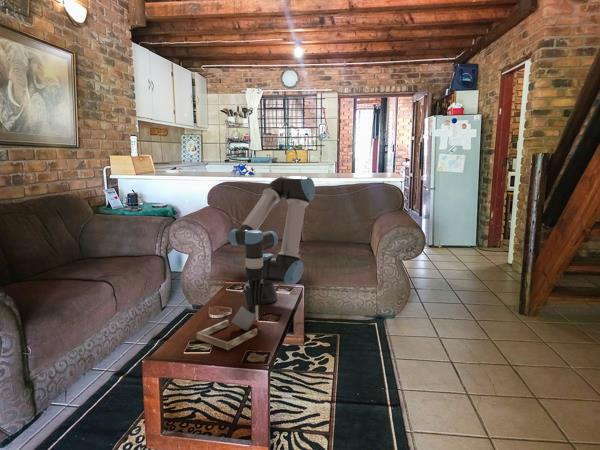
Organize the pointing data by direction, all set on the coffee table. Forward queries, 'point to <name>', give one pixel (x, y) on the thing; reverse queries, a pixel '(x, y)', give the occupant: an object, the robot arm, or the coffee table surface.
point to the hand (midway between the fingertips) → (254, 319)
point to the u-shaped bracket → (220, 343)
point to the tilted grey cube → (244, 319)
